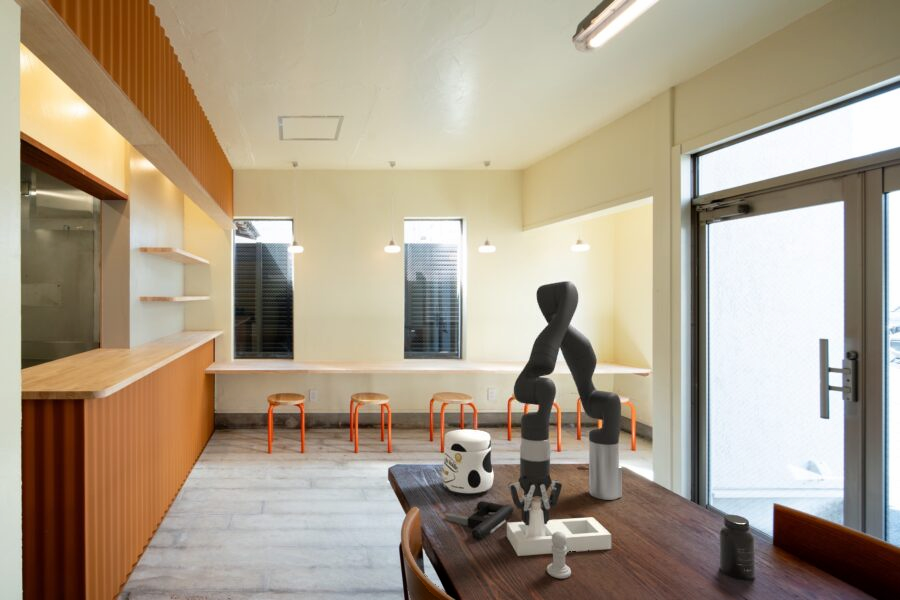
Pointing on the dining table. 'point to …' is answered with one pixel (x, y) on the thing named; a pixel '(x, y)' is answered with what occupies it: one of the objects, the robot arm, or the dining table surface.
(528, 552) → the rail
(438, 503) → the dining table surface
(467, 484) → the milk container
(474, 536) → the door handle
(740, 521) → the supplement bottle
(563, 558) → the chess piece
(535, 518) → the salt shaker
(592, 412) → the robot arm
